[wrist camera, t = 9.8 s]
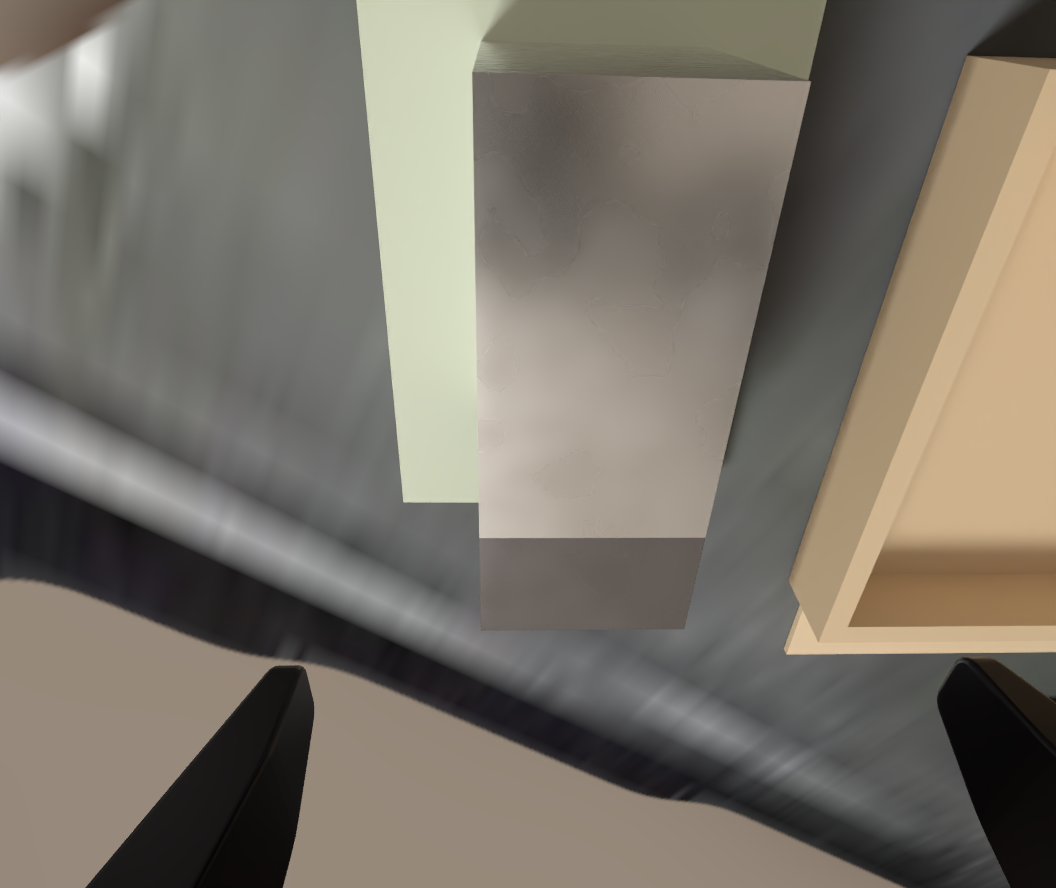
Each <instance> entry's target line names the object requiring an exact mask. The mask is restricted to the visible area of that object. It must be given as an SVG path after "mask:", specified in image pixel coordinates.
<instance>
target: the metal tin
mask: <svg viewBox="0 0 1056 888" xmlns="http://www.w3.org/2000/svg"><path fill="white" fill-rule="evenodd" d="M810 84H811V81H808V80H805V79H802V78H799V77H796V76H793V75H790V74H787V73H784V72H781V71H778V70H775V69H772V68H769V67H766V66H763V65H760V64H757V63H754V62H751V61H748V60H745V59H742V58H739V57H736V56H733V55H730V54H727V53H724V52H721V51H718V50H715V49H712V48H709V47H677V46H644V45H611V44H578V43H545V42H512V41H481V44H480V47H479V50H478V54H477V57H476V61H475V64H474V67H473V71H472V94H473V159H474V223H475V287H476V352H477V416H478V481H479V545H480V609H481V631H488V630H616V629H684V627H685V623H686V619H687V614H688V610H689V606H690V601H691V597H692V593H693V589H694V584H695V580H696V576H697V571H698V567H699V563H700V558H701V554H702V550H703V545H704V541H705V537H706V532H707V528H708V524H709V520H710V515H711V511H712V507H713V502H714V498H715V494H716V489H717V485H718V481H719V476H720V472H721V468H722V464H723V459H724V455H725V451H726V446H727V442H728V438H729V433H730V429H731V425H732V420H733V416H734V412H735V407H736V403H737V399H738V395H739V390H740V386H741V382H742V377H743V373H744V369H745V364H746V360H747V356H748V351H749V347H750V343H751V339H752V334H753V330H754V326H755V321H756V317H757V313H758V308H759V304H760V300H761V295H762V291H763V287H764V282H765V278H766V274H767V270H768V265H769V261H770V257H771V252H772V248H773V244H774V239H775V235H776V231H777V226H778V222H779V218H780V214H781V209H782V205H783V201H784V196H785V192H786V188H787V183H788V179H789V175H790V170H791V166H792V162H793V157H794V153H795V149H796V145H797V140H798V136H799V132H800V127H801V123H802V119H803V114H804V110H805V106H806V101H807V97H808V93H809V89H810Z"/></svg>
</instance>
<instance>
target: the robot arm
mask: <svg viewBox="0 0 1056 888" xmlns="http://www.w3.org/2000/svg"><path fill="white" fill-rule="evenodd" d="M937 704H938V709H939V712H940V715H941V718H942V721H943V723H944V726H945V729H946V732H947V735H948V737H949V740H950V743H951V746H952V748H953V751H954V754H955V757H956V759H957V762H958V765H959V768H960V771H961V773H962V776H963V779H964V782H965V784H966V787H967V790H968V793H969V795H970V798H971V801H972V804H973V806H974V809H975V811H976V814H977V816H978V819H979V821H980V823H981V825H982V828H983V830H984V832H985V834H986V837H987V839H988V841H989V843H990V845H991V847H992V849H993V852H994V854H995V856H996V858H997V860H998V862H999V864H1000V866H1001V869H1002V871H1003V873H1004V875H1005V877H1006V879H1007V881H1008V883H1009V885H1010V888H1056V702H1054V701H1053V700H1051V699H1050V698H1049V697H1047V696H1046V695H1045V694H1043V693H1042V692H1040V691H1039V690H1038V689H1036V688H1035V687H1034V686H1032V685H1031V684H1029V683H1028V682H1027V681H1025V680H1024V679H1023V678H1021V677H1020V676H1018V675H1017V674H1016V673H1014V672H1013V671H1012V670H1010V669H1009V668H1007V667H1006V666H1005V665H1003V664H1002V663H1000V662H999V661H997V660H996V659H993V658H991V657H985V656H980V657H962V658H960V659H958V660H957V661H956V662H955V664H954V666H953V667H952V669H951V671H950V672H949V674H948V676H947V677H946V679H945V681H944V682H943V684H942V686H941V687H940V689H939V691H938V695H937ZM313 720H314V702H313V697H312V693H311V689H310V685H309V681H308V677H307V673H306V670H305V669H304V667H302V666H299V665H295V666H275V667H273V668H271V669H270V670H269V671H268V672H267V673H266V674H265V675H264V676H263V678H262V679H261V680H260V681H259V682H258V683H257V685H256V686H255V687H254V689H252V691H251V692H250V693H249V694H248V695H247V697H246V698H245V699H244V700H243V701H242V702H241V704H240V705H239V706H238V707H237V708H236V710H235V711H234V712H233V713H232V714H231V716H230V717H229V718H228V719H227V720H226V721H225V723H224V724H223V725H222V726H221V727H220V729H219V730H218V731H217V732H216V733H215V735H214V736H213V737H212V738H211V739H210V741H209V742H208V743H207V744H206V745H205V747H204V748H203V749H202V750H201V751H200V752H199V754H198V755H197V756H196V757H195V758H194V760H193V761H192V762H191V763H190V764H189V766H188V767H187V768H186V769H185V770H184V771H183V773H182V774H181V775H180V776H179V777H178V779H177V780H176V781H175V782H174V783H173V784H172V786H171V787H170V788H169V789H168V790H167V792H166V793H165V794H164V795H163V796H162V797H161V799H160V800H159V801H158V802H157V803H156V805H155V806H154V807H153V808H152V809H151V811H150V812H149V813H148V814H147V815H146V817H145V818H144V819H143V820H142V821H141V822H140V824H139V825H138V826H137V827H136V828H135V830H134V831H133V832H132V833H131V834H130V836H129V837H128V838H127V839H126V840H125V841H124V843H123V844H122V845H121V846H120V847H119V849H118V850H117V851H116V852H115V853H114V854H113V856H112V857H111V858H110V859H109V860H108V862H107V863H106V864H105V865H104V866H103V868H102V869H101V870H100V871H99V872H98V873H97V875H96V876H95V877H94V878H93V879H92V881H91V882H90V883H89V884H88V885H87V887H86V888H283V885H284V881H285V877H286V873H287V869H288V865H289V861H290V858H291V854H292V850H293V845H294V841H295V837H296V831H297V825H298V819H299V813H300V806H301V799H302V794H303V787H304V780H305V774H306V767H307V760H308V754H309V747H310V740H311V734H312V727H313Z"/></svg>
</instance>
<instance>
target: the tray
mask: <svg viewBox="0 0 1056 888" xmlns="http://www.w3.org/2000/svg"><path fill="white" fill-rule="evenodd" d="M789 583H790V585H791V587H792V589H793V591H794V593H795V595H796V597H797V599H798V601H799V603H800V606H799V608H798V611H797V614H796V617H795V619H794V622H793V625H792V628H791V630H790V633H789V636H788V639H787V641H786V644H785V647H784V650H785V652H786V654H892V653H1004V652H1056V58H1030V57H998V56H967V57H966V60H965V62H964V65H963V68H962V71H961V74H960V77H959V80H958V83H957V86H956V89H955V92H954V95H953V98H952V101H951V104H950V107H949V110H948V112H947V115H946V118H945V121H944V124H943V127H942V130H941V133H940V136H939V139H938V142H937V145H936V148H935V151H934V154H933V157H932V159H931V162H930V165H929V168H928V171H927V174H926V177H925V180H924V183H923V186H922V189H921V192H920V195H919V198H918V201H917V204H916V207H915V209H914V212H913V215H912V218H911V221H910V224H909V227H908V230H907V233H906V236H905V239H904V242H903V245H902V248H901V251H900V254H899V256H898V259H897V262H896V265H895V268H894V271H893V274H892V277H891V280H890V283H889V286H888V289H887V292H886V295H885V298H884V301H883V304H882V306H881V309H880V312H879V315H878V318H877V321H876V324H875V327H874V330H873V333H872V336H871V339H870V342H869V345H868V348H867V351H866V353H865V356H864V359H863V362H862V365H861V368H860V371H859V374H858V377H857V380H856V383H855V386H854V389H853V392H852V395H851V398H850V401H849V403H848V406H847V409H846V412H845V415H844V418H843V421H842V424H841V427H840V430H839V433H838V436H837V439H836V442H835V445H834V448H833V451H832V453H831V456H830V459H829V462H828V465H827V468H826V471H825V474H824V477H823V480H822V483H821V486H820V489H819V492H818V495H817V498H816V500H815V503H814V506H813V509H812V512H811V515H810V518H809V521H808V524H807V527H806V530H805V533H804V536H803V539H802V542H801V545H800V548H799V550H798V553H797V556H796V559H795V562H794V565H793V568H792V571H791V574H790V577H789Z"/></svg>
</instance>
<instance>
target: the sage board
mask: <svg viewBox="0 0 1056 888" xmlns="http://www.w3.org/2000/svg"><path fill="white" fill-rule="evenodd" d="M826 1H827V0H357V11H358V22H359V32H360V43H361V54H362V64H363V75H364V86H365V96H366V107H367V118H368V128H369V139H370V150H371V160H372V171H373V182H374V192H375V203H376V214H377V224H378V235H379V246H380V256H381V267H382V278H383V288H384V299H385V310H386V320H387V331H388V342H389V352H390V363H391V374H392V384H393V395H394V406H395V416H396V427H397V438H398V448H399V459H400V470H401V480H402V491H403V502H479V481H478V416H477V352H476V287H475V223H474V159H473V94H472V71H473V67H474V64H475V61H476V57H477V54H478V50H479V47H480V44H481V41H512V42H545V43H578V44H611V45H644V46H677V47H709V48H712V49H715V50H718V51H721V52H724V53H727V54H730V55H733V56H736V57H739V58H742V59H745V60H748V61H751V62H754V63H757V64H760V65H763V66H766V67H769V68H772V69H775V70H778V71H781V72H784V73H787V74H790V75H793V76H796V77H799V78H802V79H805V80H808V79H809V75H810V71H811V66H812V62H813V58H814V53H815V49H816V45H817V40H818V36H819V32H820V27H821V23H822V19H823V14H824V10H825V6H826Z"/></svg>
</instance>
